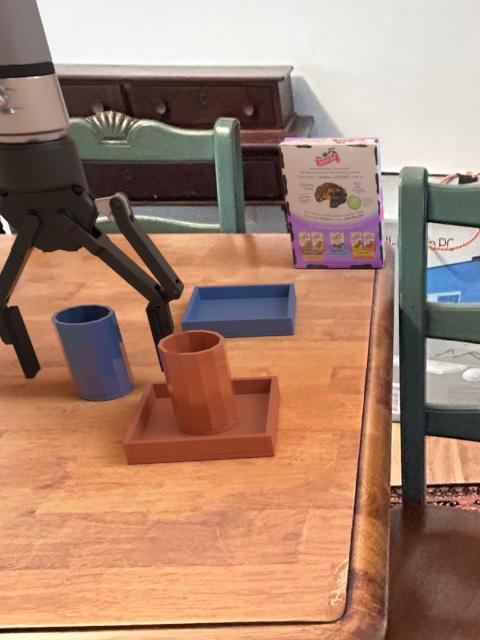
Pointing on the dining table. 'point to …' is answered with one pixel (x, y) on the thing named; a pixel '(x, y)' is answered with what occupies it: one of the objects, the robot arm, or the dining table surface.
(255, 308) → the blue tray
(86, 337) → the blue cup
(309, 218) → the candy box
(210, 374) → the terracotta cup
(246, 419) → the terracotta tray
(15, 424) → the dining table surface
